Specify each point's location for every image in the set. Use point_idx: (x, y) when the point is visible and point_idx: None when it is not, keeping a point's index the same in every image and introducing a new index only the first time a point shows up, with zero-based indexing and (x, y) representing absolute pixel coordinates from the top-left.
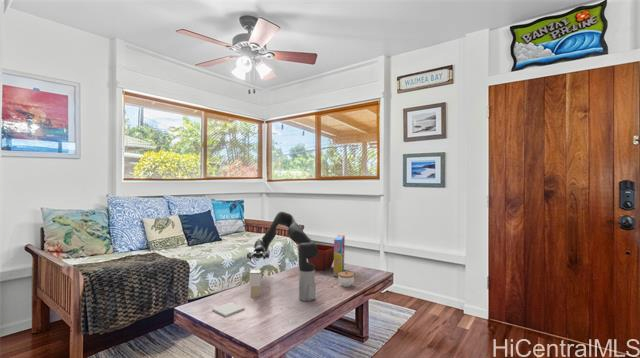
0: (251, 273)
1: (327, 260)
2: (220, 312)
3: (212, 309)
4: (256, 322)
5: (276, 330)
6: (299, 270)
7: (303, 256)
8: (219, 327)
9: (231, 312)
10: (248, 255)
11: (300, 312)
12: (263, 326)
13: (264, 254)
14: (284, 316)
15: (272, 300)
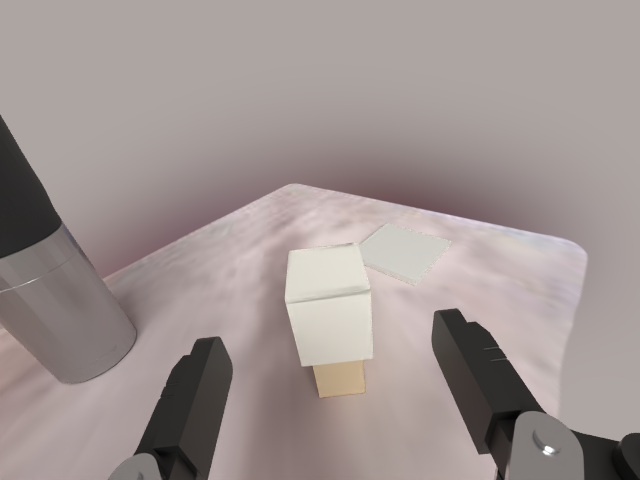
0: (345, 245)
1: None
2: (408, 229)
3: (450, 243)
4: (302, 220)
5: (261, 208)
6: (58, 232)
7: (10, 132)
8: (378, 202)
9: (377, 232)
10: (593, 437)
11: (184, 260)
12: (286, 213)
13: (150, 471)
14: (233, 243)
15: (252, 322)
